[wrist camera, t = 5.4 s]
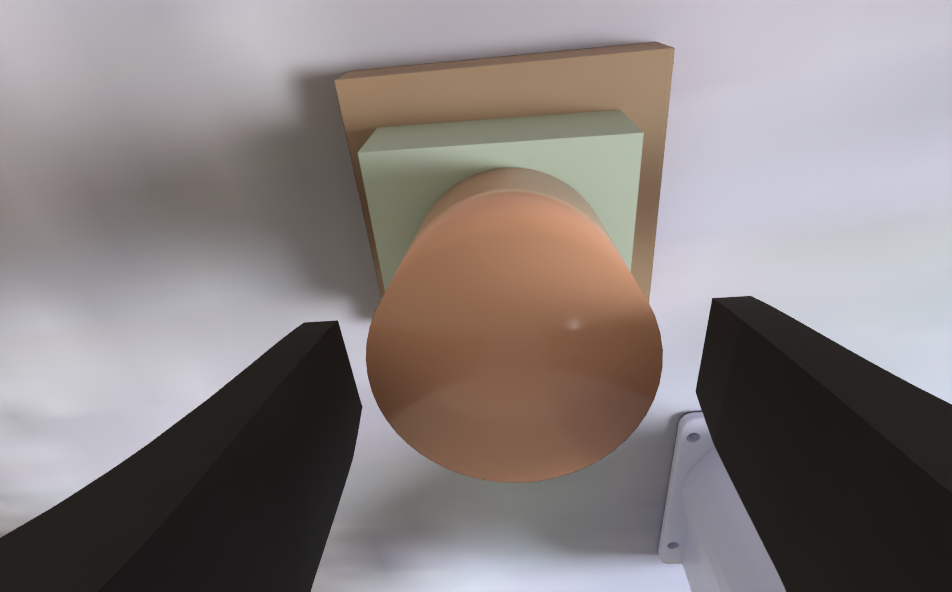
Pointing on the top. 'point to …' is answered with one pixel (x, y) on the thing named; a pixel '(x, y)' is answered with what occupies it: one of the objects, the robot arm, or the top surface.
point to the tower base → (524, 109)
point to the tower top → (492, 147)
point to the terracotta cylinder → (513, 333)
